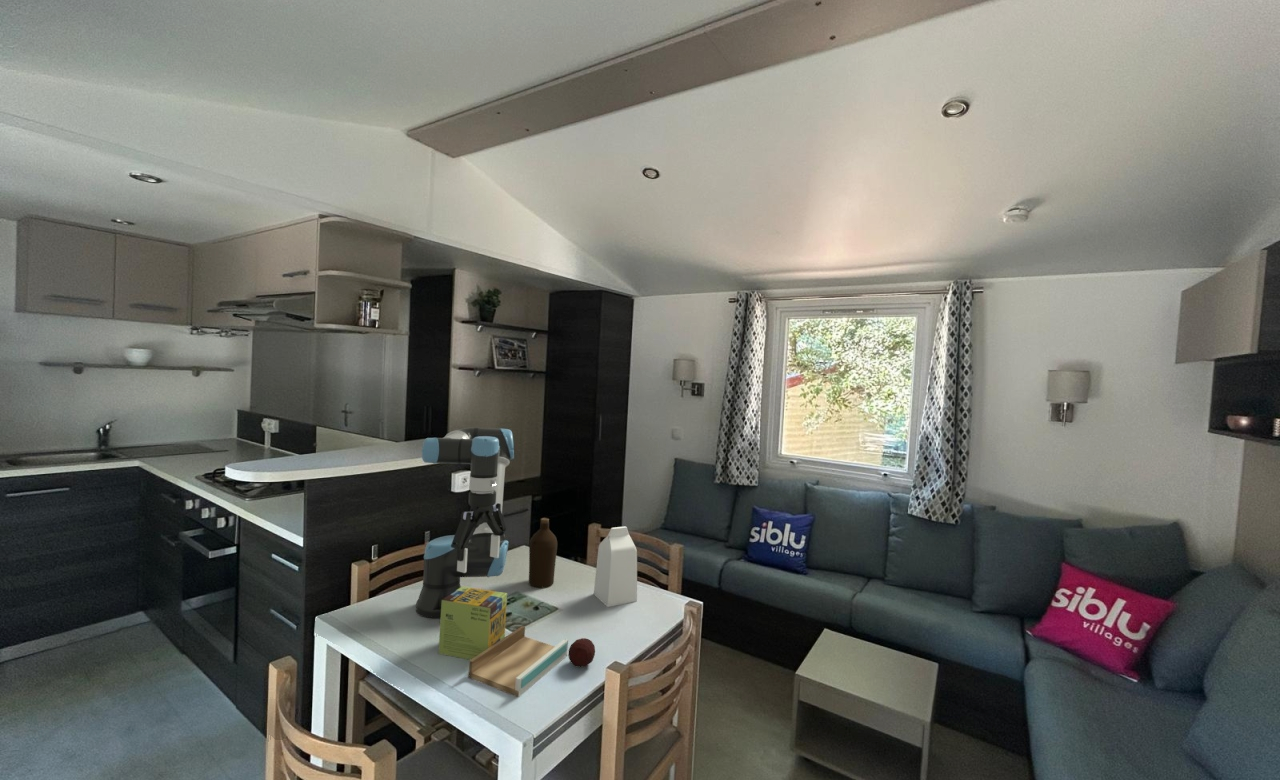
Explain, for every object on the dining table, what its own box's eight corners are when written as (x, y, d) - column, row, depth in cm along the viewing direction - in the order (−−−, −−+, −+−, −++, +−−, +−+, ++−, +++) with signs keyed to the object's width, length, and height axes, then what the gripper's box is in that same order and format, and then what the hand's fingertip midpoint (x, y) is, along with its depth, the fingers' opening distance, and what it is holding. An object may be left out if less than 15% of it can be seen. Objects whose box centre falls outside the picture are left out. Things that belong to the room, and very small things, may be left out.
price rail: (514, 695, 125) (515, 677, 125) (563, 654, 145) (564, 639, 145) (519, 697, 125) (520, 679, 125) (567, 655, 145) (568, 640, 145)
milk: (607, 606, 178) (611, 533, 177) (593, 594, 188) (597, 524, 187) (636, 601, 184) (641, 530, 183) (621, 589, 194) (625, 521, 193)
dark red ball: (597, 659, 144) (598, 635, 144) (589, 675, 136) (590, 649, 136) (572, 655, 145) (574, 631, 145) (563, 670, 138) (565, 644, 138)
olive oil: (551, 590, 189) (555, 523, 189) (523, 587, 189) (527, 521, 189) (557, 579, 200) (561, 516, 199) (531, 576, 200) (534, 514, 200)
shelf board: (468, 677, 132) (468, 671, 132) (521, 640, 152) (521, 635, 152) (518, 697, 125) (518, 691, 125) (566, 655, 145) (567, 650, 145)
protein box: (487, 663, 139) (490, 607, 138) (437, 654, 142) (440, 599, 142) (505, 644, 149) (508, 592, 149) (458, 636, 152) (460, 585, 152)
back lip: (468, 677, 132) (469, 660, 132) (521, 640, 152) (522, 625, 152) (471, 678, 131) (472, 661, 131) (524, 641, 151) (525, 626, 151)
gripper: (461, 501, 132) (457, 581, 132) (520, 485, 155) (516, 553, 155) (439, 496, 135) (435, 575, 135) (500, 482, 158) (496, 549, 158)
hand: (478, 564), depth 145 cm, fingers open, 13 cm apart
